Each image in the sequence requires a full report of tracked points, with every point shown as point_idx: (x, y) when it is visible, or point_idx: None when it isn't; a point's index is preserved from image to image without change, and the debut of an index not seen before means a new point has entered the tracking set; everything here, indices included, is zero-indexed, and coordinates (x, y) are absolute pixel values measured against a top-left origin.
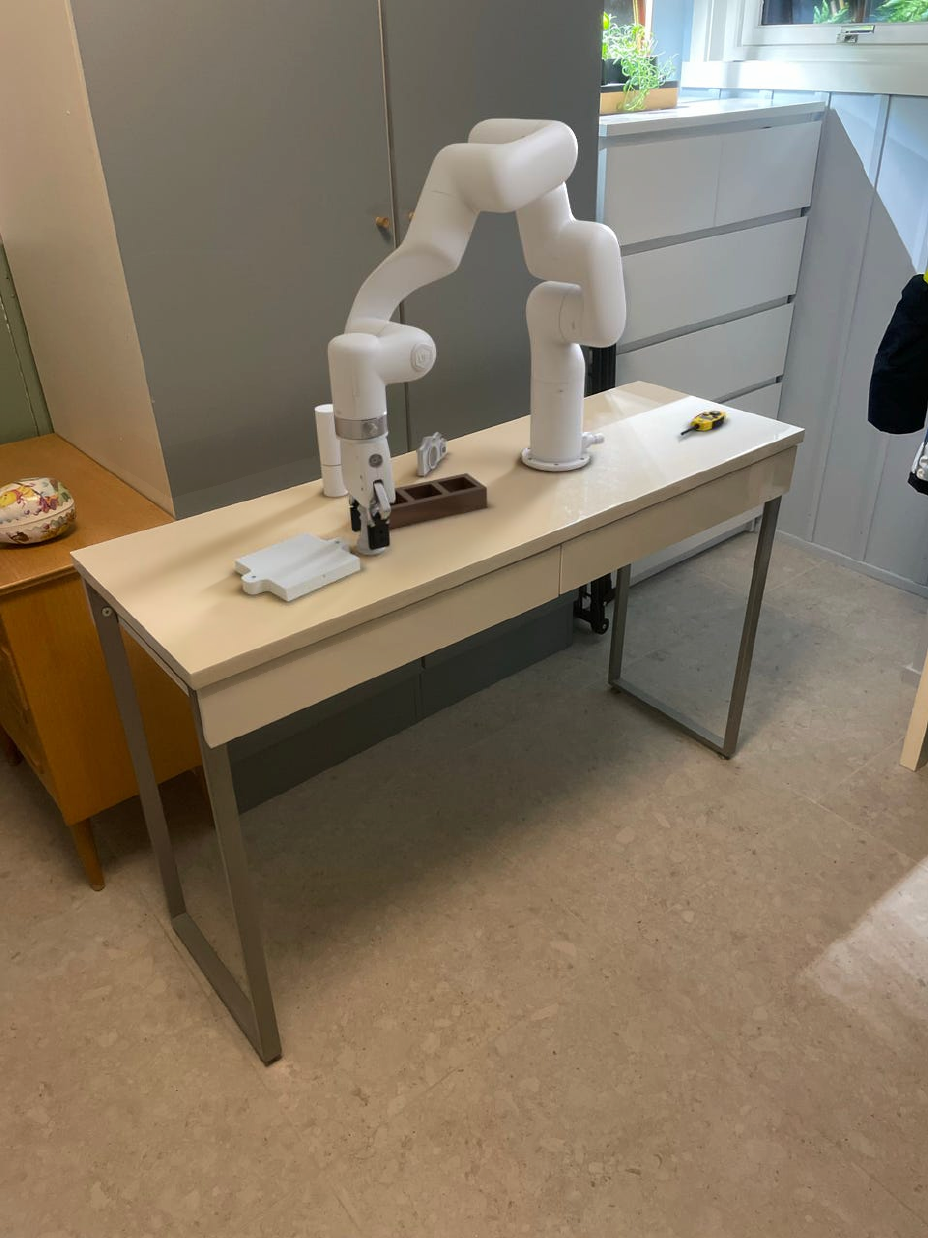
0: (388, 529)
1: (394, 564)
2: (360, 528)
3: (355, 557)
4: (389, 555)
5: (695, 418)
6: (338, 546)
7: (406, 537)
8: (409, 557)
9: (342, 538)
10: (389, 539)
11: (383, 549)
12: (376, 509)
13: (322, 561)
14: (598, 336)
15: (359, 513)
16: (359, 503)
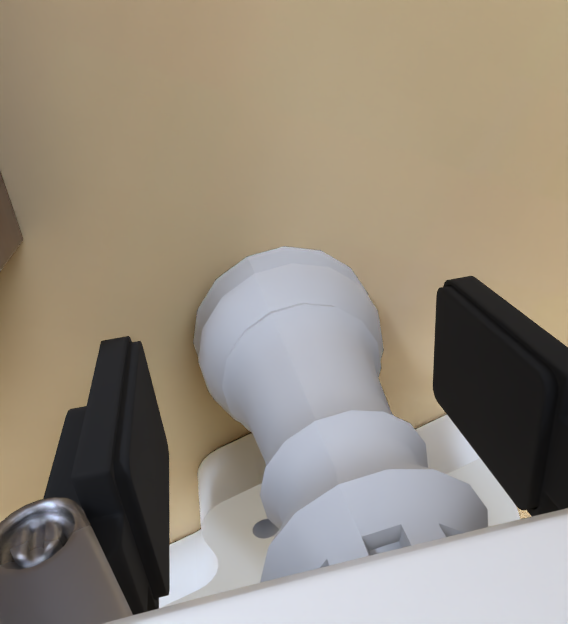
0: (541, 332)
1: (505, 239)
2: (157, 419)
3: (482, 464)
4: (391, 240)
5: None
6: None
7: (174, 44)
8: (478, 128)
9: (226, 506)
10: (493, 291)
11: (353, 274)
12: (474, 499)
13: None
14: None
15: (155, 510)
16: None
